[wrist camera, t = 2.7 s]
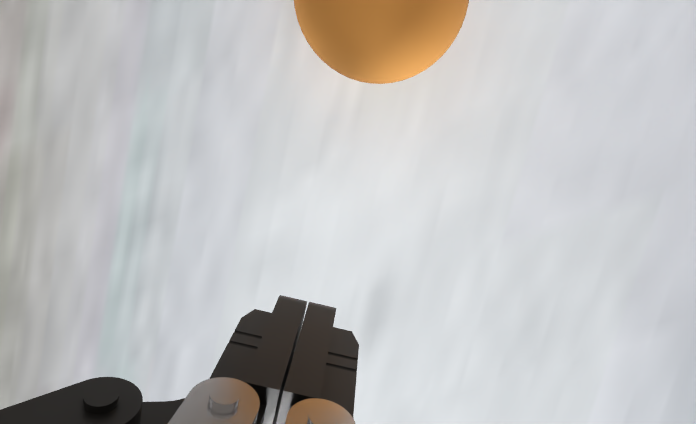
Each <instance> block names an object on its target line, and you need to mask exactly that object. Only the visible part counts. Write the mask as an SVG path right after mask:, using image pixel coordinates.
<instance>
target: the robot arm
mask: <svg viewBox="0 0 696 424" xmlns="http://www.w3.org/2000/svg"><path fill="white" fill-rule="evenodd" d="M306 304H307V301H303V300H299V299H294V298H290V297H286V296H281V295H280V296H279V298H278V300H277V303H276V305H275V308H274V310H273V312H272V313H269V312H265V311H260V310H256V309H255V310H253V311H252V312H250V313H248V314H247V315H245V316H244V317H242V318H241V320H240V322H239V324H238V325H237V327H236V329H235V332H234V333H233V335H232V337H231V339H230V341H229V343H228V345H227V346H226V348H225V350H224V352H223V354H222V356H221V358H220V360H219V362H218V364H217V365H216V367H215V369H214V371H213V373H212V375H211V377H210V379H207V380H205V381H202V382H201V383H199V384H197V385H196V386H195V387H193V389H192V390H191V391H190V392H189V394H188V395H187V397H186V398H184V399H180V400H175V401H166V402H142V394H141V392H140V390H139V389H138V387H136V386H135V385H134V384H133V383H131V382H129V381H127V380H124V379H121V378H115V377H99V378H93V379H89V380H86V381H83V382H80V383H77V384H74V385H71V386H68V387H65V388H62V389H60V390H57V391H54V392H51V393H48V394H45V395H42V396H39V397H36V398H33V399H31V400H28V401H25V402H22V403H19V404H16V405H13V406H10V407H7V408H4V409H2V410H0V424H355V421H354V419H353V411H354V398H355V386H356V374H357V372H356V371H357V362H358V361H357V360H358V349H359V344H358V342H357V340H356V339H355V337H354V335H353V333H352V331H347V330H343V329H339V328H334V327H333V323H334V317H335V312H336V308H334V307H329V306H325V305H321V304H316V303H312V302H309V304H308V308H307V311H306V315H305V318H304V314H305V309H306ZM303 318H304V321H303ZM302 323H303V325H302Z"/></svg>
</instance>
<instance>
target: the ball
mask: <svg viewBox="0 0 696 424" xmlns="http://www.w3.org/2000/svg"><path fill="white" fill-rule="evenodd" d="M468 3H469V0H294V5H295V11H296V15H297V19H298V22H299V25H300V27H301V30H302V32H303V34H304V36H305V38H306V40H307V42H308V43H309V45H310V46H311V48H312V49H313V51H314V52H315V53H316V54H317V55H318V56H319V57H320V58H321V60H323V61H324V62H325V63H326V64H327V65H328V66H330V67H331V68H332V69H334V70H335V71H337V72H338V73H340V74H342V75H344V76H346V77H348V78H351V79H354V80H357V81H361V82H366V83H377V84H383V83H393V82H397V81H402V80H405V79H407V78H410V77H413V76H415V75H417V74H419V73H420V72H422V71H424V70H426V69H427V68H428V67H430V66H431V65H433V64H434V63H435V62H436V61H437V60H438V59H439V58H440V57H441V56H442V55H443V54H444V53H445V52H446V51H447V49H448V48H449V47H450V46H451V44H452V43H453V41H454V40H455V38H456V36H457V34H458V32H459V30H460V28H461V26H462V24H463V21H464V18H465V15H466V11H467V7H468Z"/></svg>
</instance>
